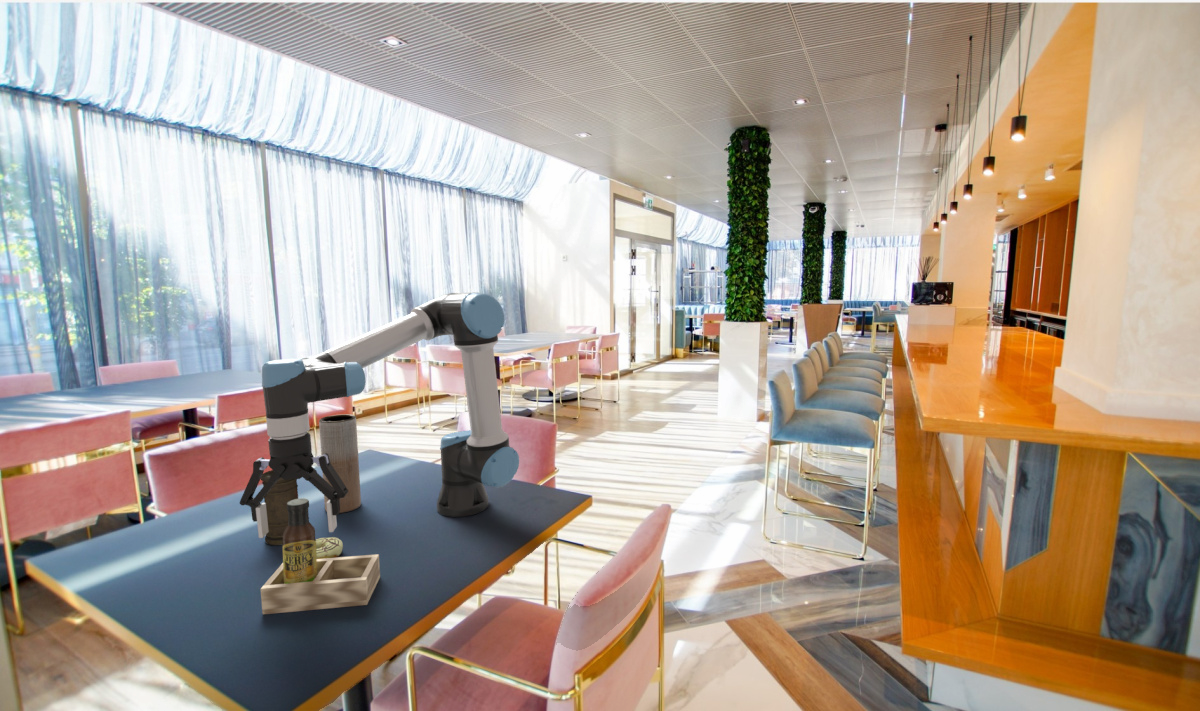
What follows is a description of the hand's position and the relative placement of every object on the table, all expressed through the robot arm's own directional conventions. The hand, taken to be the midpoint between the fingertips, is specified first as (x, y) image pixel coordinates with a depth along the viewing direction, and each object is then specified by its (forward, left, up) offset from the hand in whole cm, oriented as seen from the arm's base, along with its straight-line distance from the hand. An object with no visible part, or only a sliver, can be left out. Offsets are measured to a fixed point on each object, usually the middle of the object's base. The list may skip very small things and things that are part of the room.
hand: (298, 532), depth 112 cm
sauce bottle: (0, 0, -13) cm, 13 cm away
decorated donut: (+3, -17, -15) cm, 23 cm away
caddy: (-4, 0, -14) cm, 15 cm away
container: (+16, -30, -15) cm, 37 cm away
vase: (+7, -49, -15) cm, 52 cm away
